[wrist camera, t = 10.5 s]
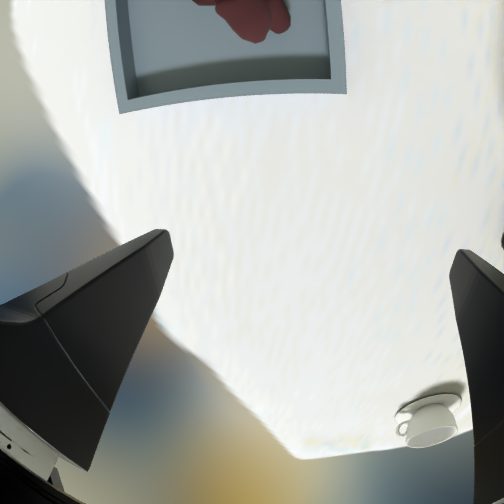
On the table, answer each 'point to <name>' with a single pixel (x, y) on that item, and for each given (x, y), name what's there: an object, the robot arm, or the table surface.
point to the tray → (219, 53)
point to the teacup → (428, 420)
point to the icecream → (252, 17)
